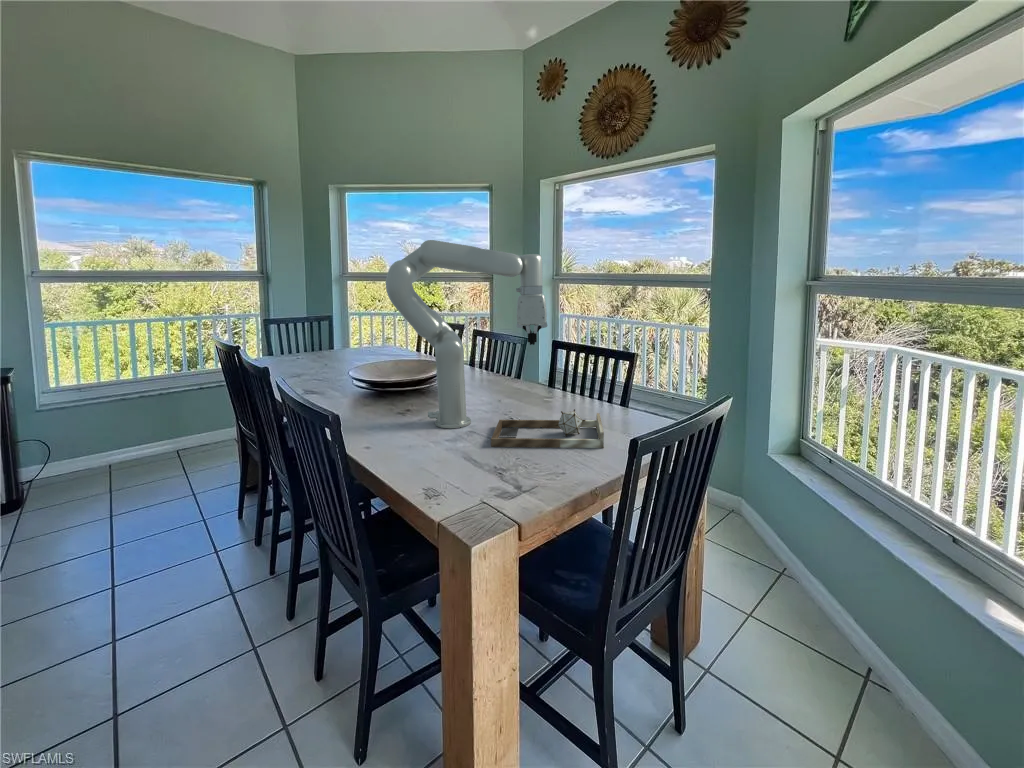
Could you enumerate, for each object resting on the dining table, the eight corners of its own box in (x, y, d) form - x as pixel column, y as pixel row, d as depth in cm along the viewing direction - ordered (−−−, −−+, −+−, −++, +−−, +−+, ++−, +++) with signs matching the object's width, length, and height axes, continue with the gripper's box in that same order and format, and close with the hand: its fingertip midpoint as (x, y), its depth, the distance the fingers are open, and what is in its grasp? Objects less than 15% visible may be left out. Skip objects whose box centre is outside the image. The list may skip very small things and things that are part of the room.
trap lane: (491, 446, 154) (490, 431, 153) (499, 426, 173) (499, 412, 172) (603, 448, 150) (603, 432, 149) (599, 427, 170) (599, 413, 168)
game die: (575, 446, 163) (585, 428, 156) (550, 437, 163) (559, 418, 156) (580, 426, 169) (590, 408, 162) (556, 417, 169) (565, 398, 162)
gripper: (508, 292, 169) (509, 346, 173) (552, 291, 167) (553, 345, 172) (511, 291, 176) (512, 342, 181) (553, 290, 175) (554, 342, 179)
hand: (532, 344), depth 176 cm, fingers closed
